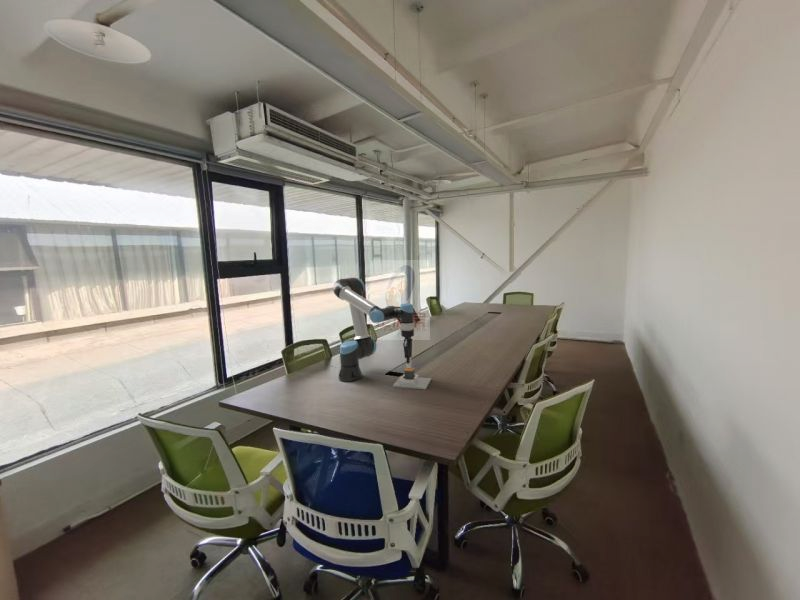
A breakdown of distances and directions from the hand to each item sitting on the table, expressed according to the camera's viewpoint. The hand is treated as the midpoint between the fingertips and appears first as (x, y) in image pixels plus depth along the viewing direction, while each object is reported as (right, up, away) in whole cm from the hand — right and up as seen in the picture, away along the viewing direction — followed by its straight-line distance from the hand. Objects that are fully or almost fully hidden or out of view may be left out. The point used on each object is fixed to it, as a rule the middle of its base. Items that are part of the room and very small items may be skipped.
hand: (408, 367), depth 203 cm
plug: (+1, -9, +1) cm, 9 cm away
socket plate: (+2, -10, +1) cm, 10 cm away
